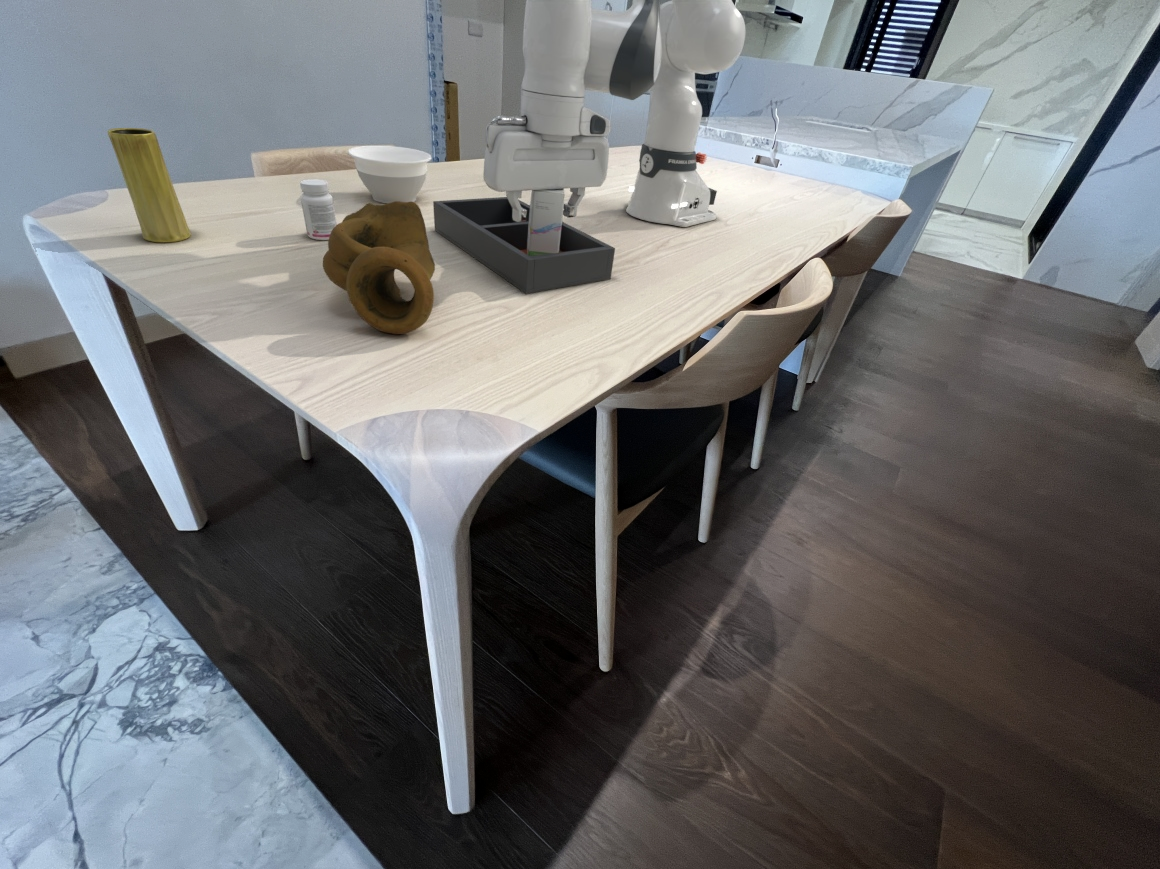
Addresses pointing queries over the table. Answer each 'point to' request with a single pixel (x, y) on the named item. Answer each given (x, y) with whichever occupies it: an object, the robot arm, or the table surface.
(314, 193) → the pill bottle
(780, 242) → the table surface
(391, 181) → the bowl
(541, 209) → the ink box
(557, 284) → the organiser
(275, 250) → the table surface
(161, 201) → the vase
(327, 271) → the brown looped sculpture
